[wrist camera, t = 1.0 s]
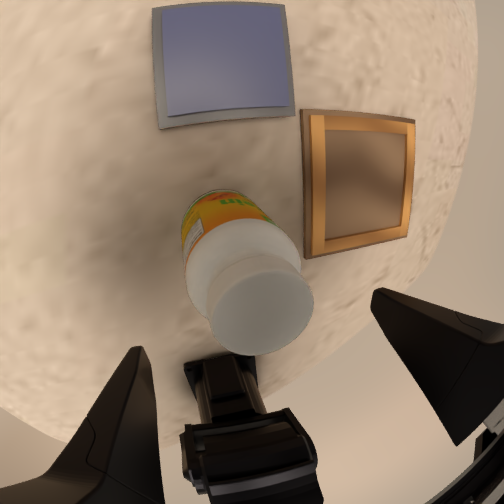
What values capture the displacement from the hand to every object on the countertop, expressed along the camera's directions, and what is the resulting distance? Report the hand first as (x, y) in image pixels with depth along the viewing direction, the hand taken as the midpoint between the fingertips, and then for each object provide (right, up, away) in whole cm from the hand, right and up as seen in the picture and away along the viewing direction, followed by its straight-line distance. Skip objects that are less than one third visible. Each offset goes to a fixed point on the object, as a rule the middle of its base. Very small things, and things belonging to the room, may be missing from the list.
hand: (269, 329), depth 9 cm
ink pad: (-2, +14, +4) cm, 15 cm away
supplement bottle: (-3, +4, +9) cm, 10 cm away
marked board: (+8, +8, +10) cm, 15 cm away
